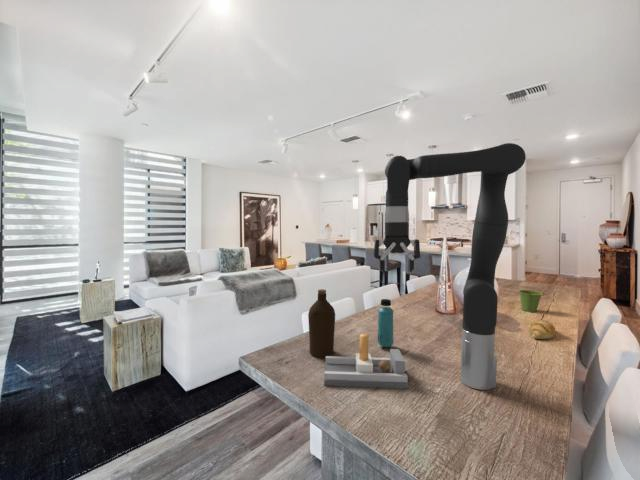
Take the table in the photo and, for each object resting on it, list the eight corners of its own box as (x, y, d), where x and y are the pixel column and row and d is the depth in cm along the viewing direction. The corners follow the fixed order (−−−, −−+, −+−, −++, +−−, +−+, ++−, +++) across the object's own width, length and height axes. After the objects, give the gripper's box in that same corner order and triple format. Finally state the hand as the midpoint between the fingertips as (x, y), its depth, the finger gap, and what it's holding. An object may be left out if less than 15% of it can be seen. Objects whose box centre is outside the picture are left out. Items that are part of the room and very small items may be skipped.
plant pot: (523, 313, 173) (524, 293, 172) (513, 307, 184) (514, 289, 184) (546, 314, 171) (547, 294, 170) (534, 308, 182) (535, 290, 182)
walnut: (389, 369, 101) (389, 357, 101) (391, 375, 97) (392, 363, 97) (377, 368, 101) (378, 357, 101) (379, 374, 97) (379, 362, 97)
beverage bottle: (396, 347, 123) (397, 299, 122) (388, 352, 118) (388, 302, 117) (382, 342, 128) (383, 296, 127) (374, 347, 123) (374, 299, 122)
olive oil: (335, 358, 112) (336, 293, 111) (307, 358, 112) (307, 293, 111) (334, 347, 123) (334, 287, 121) (308, 346, 123) (309, 287, 122)
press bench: (398, 366, 106) (398, 346, 106) (407, 388, 92) (408, 364, 92) (325, 364, 107) (325, 344, 107) (324, 385, 93) (324, 362, 93)
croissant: (542, 350, 130) (553, 336, 126) (519, 333, 136) (529, 320, 133) (553, 337, 144) (564, 325, 140) (532, 323, 150) (542, 311, 147)
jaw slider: (369, 364, 104) (370, 330, 103) (372, 377, 95) (373, 340, 95) (355, 364, 104) (355, 330, 103) (357, 376, 95) (357, 340, 95)
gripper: (416, 221, 98) (415, 270, 99) (372, 221, 99) (372, 270, 99) (422, 220, 90) (422, 273, 91) (375, 221, 91) (375, 273, 92)
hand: (396, 271), depth 95 cm, fingers open, 8 cm apart
